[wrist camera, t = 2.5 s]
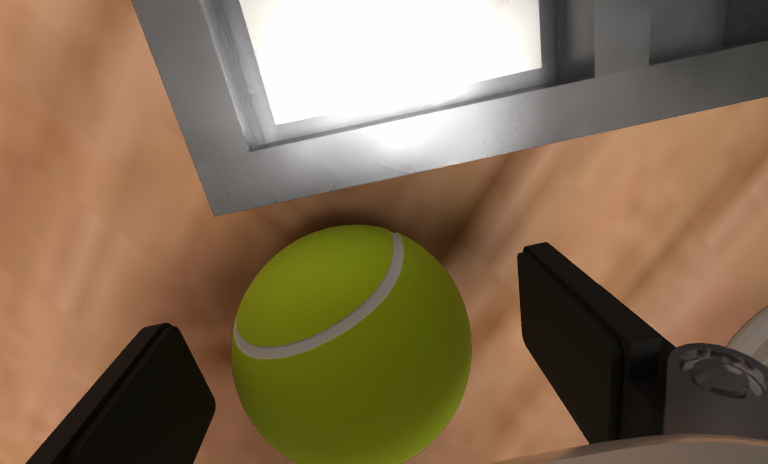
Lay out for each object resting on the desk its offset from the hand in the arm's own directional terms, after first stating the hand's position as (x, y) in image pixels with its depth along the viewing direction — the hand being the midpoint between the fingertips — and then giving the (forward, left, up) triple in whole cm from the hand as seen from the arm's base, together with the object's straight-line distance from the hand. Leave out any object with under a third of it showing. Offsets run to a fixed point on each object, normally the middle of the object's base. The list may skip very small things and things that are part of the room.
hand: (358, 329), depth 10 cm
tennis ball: (-1, 0, -5) cm, 5 cm away
